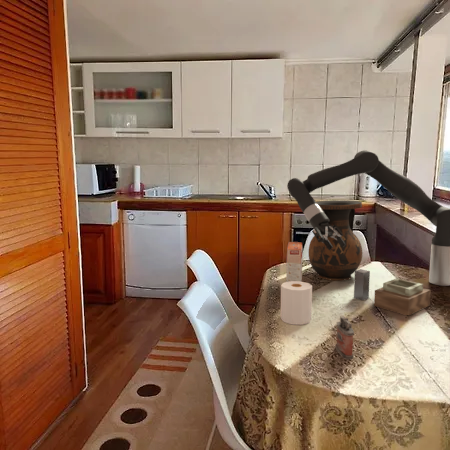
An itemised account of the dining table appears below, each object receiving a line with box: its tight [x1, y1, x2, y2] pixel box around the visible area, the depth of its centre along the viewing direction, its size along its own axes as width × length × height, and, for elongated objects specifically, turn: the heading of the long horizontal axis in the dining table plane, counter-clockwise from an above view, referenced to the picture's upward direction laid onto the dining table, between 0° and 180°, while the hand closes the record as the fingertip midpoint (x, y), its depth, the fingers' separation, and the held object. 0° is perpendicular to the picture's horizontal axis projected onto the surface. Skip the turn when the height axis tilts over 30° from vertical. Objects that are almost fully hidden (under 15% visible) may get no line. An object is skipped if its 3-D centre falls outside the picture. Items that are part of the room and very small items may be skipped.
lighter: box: [335, 315, 355, 360], centre depth 113 cm, size 8×3×10 cm, turn 5°
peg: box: [353, 268, 371, 301], centre depth 158 cm, size 4×4×11 cm
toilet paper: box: [280, 281, 313, 326], centre depth 137 cm, size 10×10×12 cm
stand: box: [373, 277, 432, 316], centre depth 149 cm, size 16×13×8 cm
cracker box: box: [285, 241, 303, 282], centre depth 160 cm, size 14×6×21 cm, turn 168°
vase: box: [307, 199, 363, 282], centre depth 187 cm, size 24×24×35 cm
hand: (337, 247), depth 165 cm, fingers open, 8 cm apart
